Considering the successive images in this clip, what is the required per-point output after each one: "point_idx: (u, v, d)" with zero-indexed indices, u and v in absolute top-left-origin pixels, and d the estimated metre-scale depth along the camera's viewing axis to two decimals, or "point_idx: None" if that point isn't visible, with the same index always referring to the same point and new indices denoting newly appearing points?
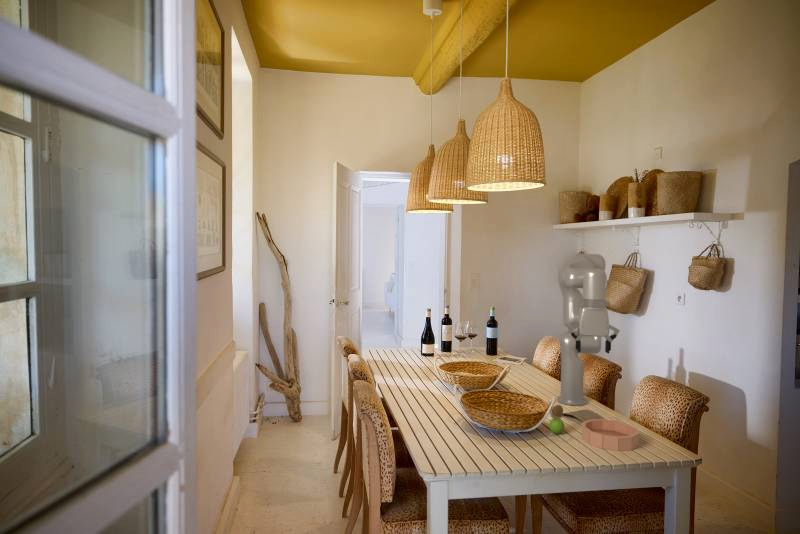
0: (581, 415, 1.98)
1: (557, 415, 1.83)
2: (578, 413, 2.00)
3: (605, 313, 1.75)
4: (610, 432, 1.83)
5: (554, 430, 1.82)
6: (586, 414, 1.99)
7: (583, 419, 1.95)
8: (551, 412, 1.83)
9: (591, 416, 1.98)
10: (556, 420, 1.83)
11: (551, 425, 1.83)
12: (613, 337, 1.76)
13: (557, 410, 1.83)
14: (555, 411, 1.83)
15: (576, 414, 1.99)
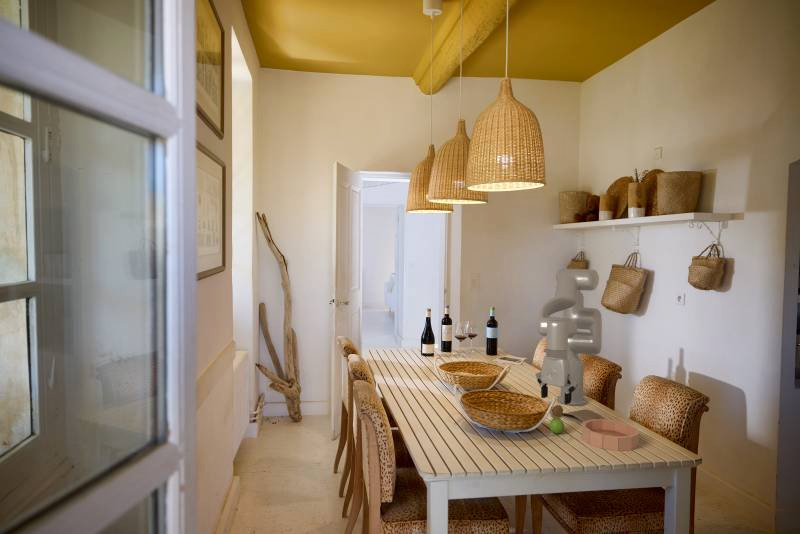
0: (581, 415, 1.98)
1: (557, 415, 1.83)
2: (578, 413, 2.00)
3: None
4: (610, 432, 1.83)
5: (554, 430, 1.82)
6: (586, 414, 1.99)
7: (583, 419, 1.95)
8: (551, 412, 1.83)
9: (591, 416, 1.98)
10: (556, 420, 1.83)
11: (551, 425, 1.83)
12: None
13: (557, 410, 1.83)
14: (555, 411, 1.83)
15: (576, 414, 1.99)
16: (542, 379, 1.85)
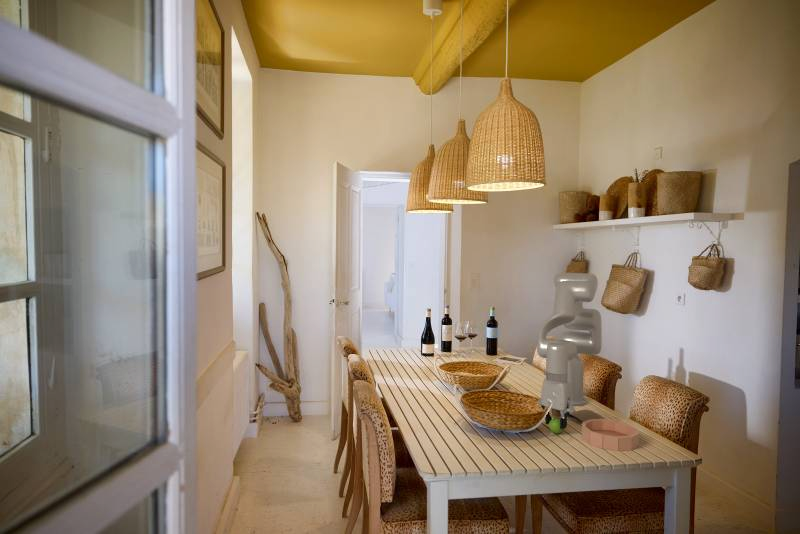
0: (581, 415, 1.98)
1: (557, 415, 1.83)
2: (578, 413, 2.00)
3: None
4: (610, 432, 1.83)
5: (554, 430, 1.82)
6: (586, 414, 1.99)
7: (583, 419, 1.95)
8: (551, 412, 1.83)
9: (591, 416, 1.98)
10: (556, 420, 1.83)
11: (551, 425, 1.83)
12: None
13: (557, 410, 1.83)
14: (554, 411, 1.83)
15: (576, 414, 1.99)
16: (542, 402, 1.85)
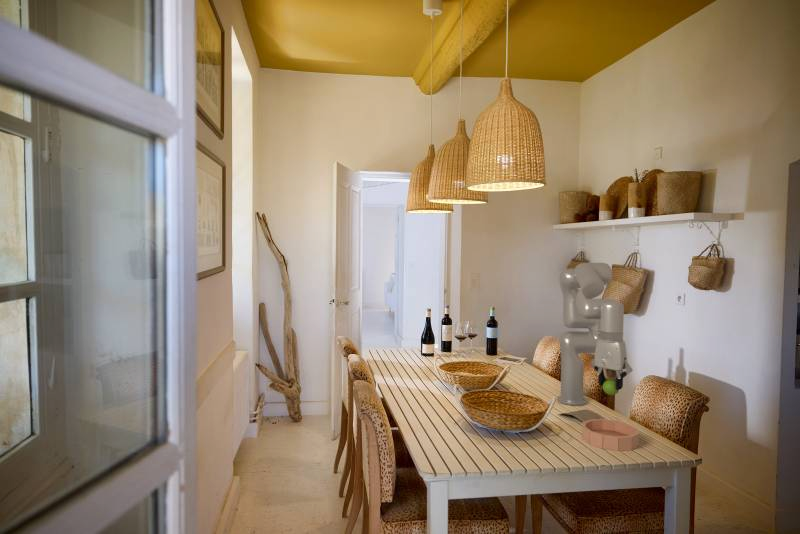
0: (581, 415, 1.98)
1: (611, 376, 1.76)
2: (578, 413, 2.00)
3: None
4: (610, 432, 1.83)
5: (609, 391, 1.75)
6: (586, 414, 1.99)
7: (583, 419, 1.95)
8: (605, 373, 1.76)
9: (591, 416, 1.98)
10: (611, 381, 1.76)
11: (605, 386, 1.76)
12: None
13: (612, 371, 1.76)
14: (609, 372, 1.76)
15: (576, 414, 1.99)
16: (596, 363, 1.78)
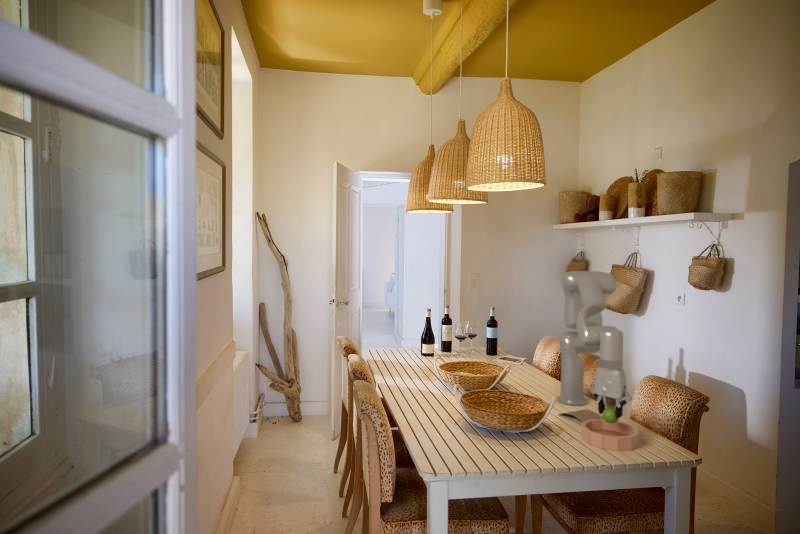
0: (581, 415, 1.98)
1: (611, 404, 1.76)
2: (578, 413, 2.00)
3: None
4: (610, 432, 1.83)
5: (608, 419, 1.75)
6: (586, 414, 1.99)
7: (583, 419, 1.95)
8: (605, 401, 1.76)
9: (591, 416, 1.98)
10: (610, 409, 1.76)
11: (605, 414, 1.76)
12: None
13: (611, 399, 1.76)
14: (609, 400, 1.76)
15: (576, 414, 1.99)
16: (595, 390, 1.78)
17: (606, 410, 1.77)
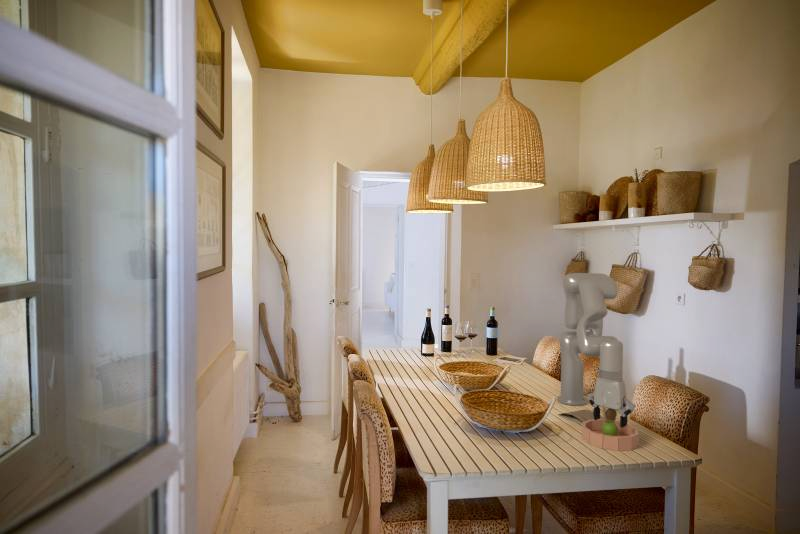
0: (581, 415, 1.98)
1: (611, 418, 1.77)
2: (578, 413, 2.00)
3: None
4: None
5: (608, 434, 1.76)
6: (586, 414, 1.99)
7: (583, 419, 1.95)
8: (605, 415, 1.76)
9: (591, 416, 1.98)
10: (610, 424, 1.77)
11: (604, 429, 1.77)
12: None
13: (611, 413, 1.77)
14: (608, 415, 1.77)
15: (576, 414, 1.99)
16: (595, 401, 1.78)
17: (605, 424, 1.77)
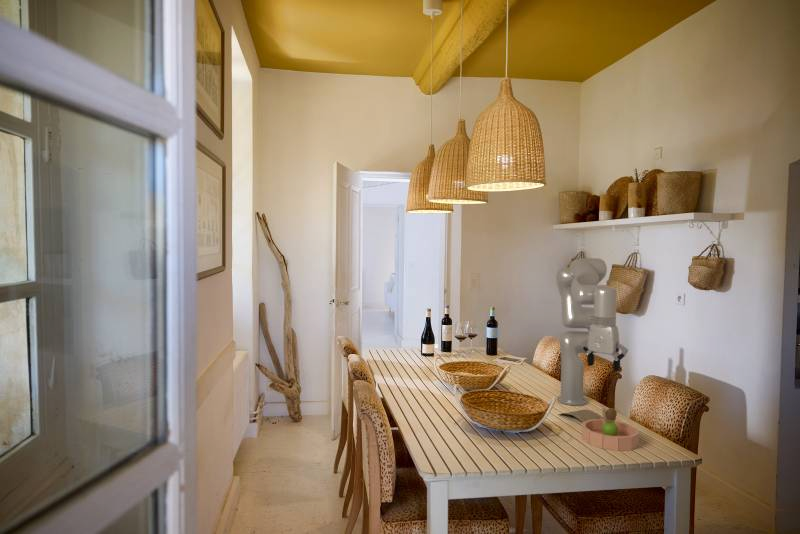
0: (581, 415, 1.98)
1: (611, 418, 1.77)
2: (578, 413, 2.00)
3: None
4: None
5: (608, 434, 1.76)
6: (586, 414, 1.99)
7: (583, 419, 1.95)
8: (605, 415, 1.76)
9: (591, 416, 1.98)
10: (610, 424, 1.77)
11: (604, 429, 1.77)
12: None
13: (611, 413, 1.77)
14: (608, 415, 1.77)
15: (576, 414, 1.99)
16: (589, 347, 1.83)
17: (605, 424, 1.77)
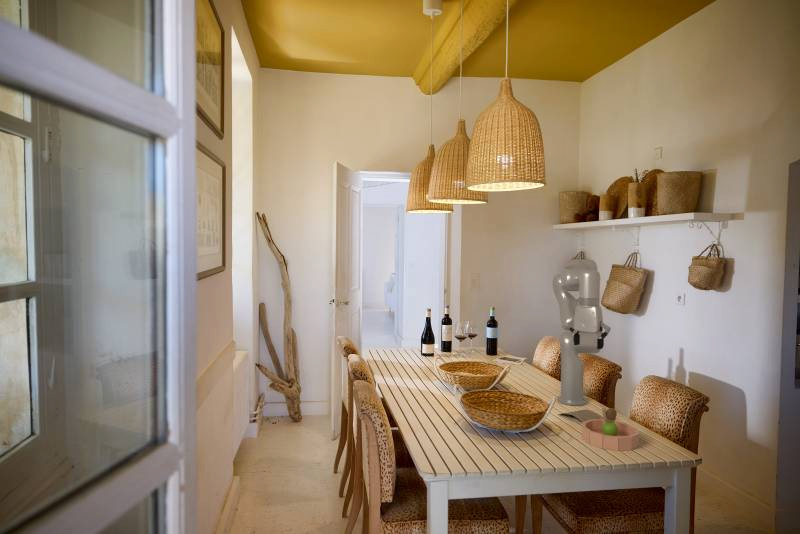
0: (581, 415, 1.98)
1: (611, 418, 1.77)
2: (578, 413, 2.00)
3: None
4: None
5: (608, 434, 1.76)
6: (586, 414, 1.99)
7: (583, 419, 1.95)
8: (605, 415, 1.76)
9: (591, 416, 1.98)
10: (610, 424, 1.77)
11: (604, 429, 1.77)
12: None
13: (611, 413, 1.77)
14: (608, 415, 1.77)
15: (576, 414, 1.99)
16: (575, 327, 1.94)
17: (605, 424, 1.77)
